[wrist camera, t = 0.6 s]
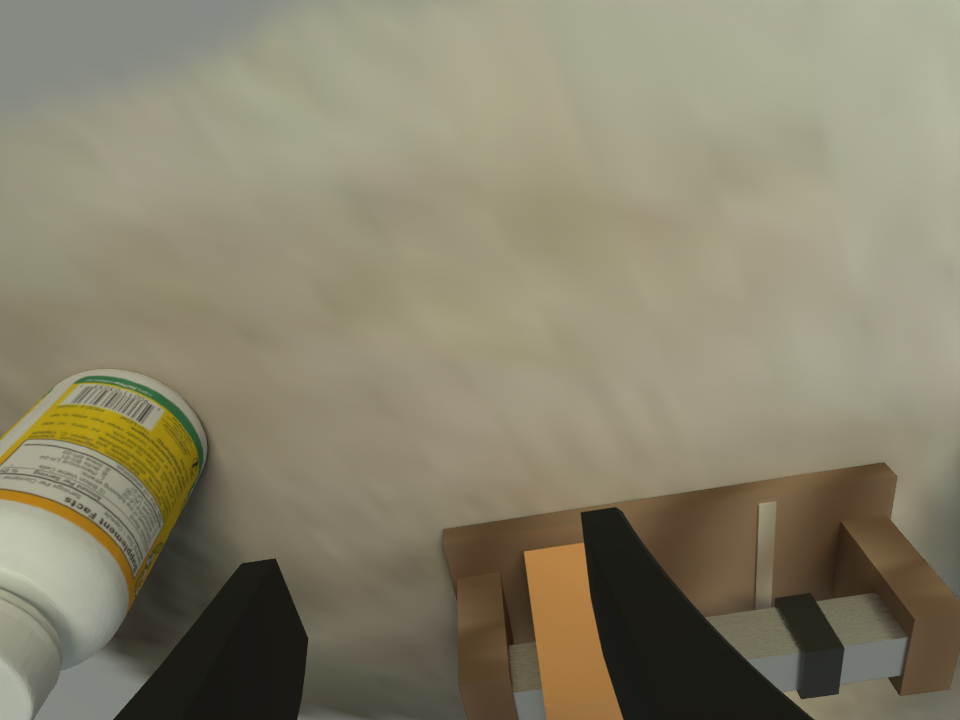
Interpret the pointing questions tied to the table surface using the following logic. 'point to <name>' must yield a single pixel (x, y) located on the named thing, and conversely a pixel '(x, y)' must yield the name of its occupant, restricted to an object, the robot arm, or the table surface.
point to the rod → (779, 647)
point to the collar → (568, 636)
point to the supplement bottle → (85, 519)
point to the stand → (716, 569)
